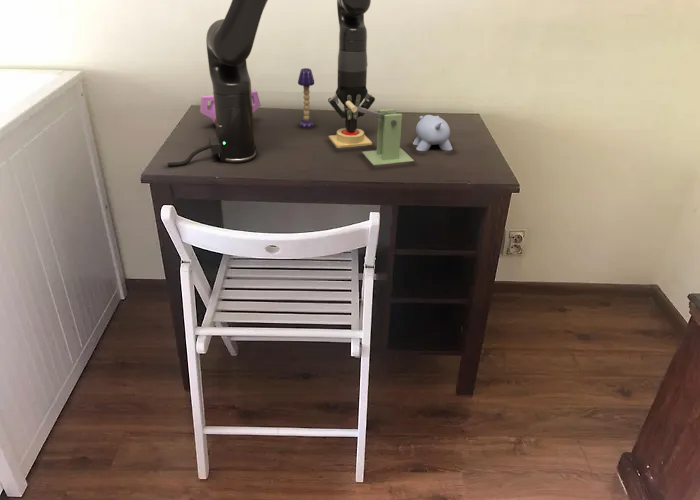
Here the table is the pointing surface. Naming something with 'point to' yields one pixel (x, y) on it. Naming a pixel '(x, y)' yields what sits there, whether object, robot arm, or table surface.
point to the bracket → (388, 141)
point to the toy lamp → (306, 95)
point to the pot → (211, 112)
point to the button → (349, 133)
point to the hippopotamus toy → (432, 133)
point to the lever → (365, 110)
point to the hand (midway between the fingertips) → (350, 131)
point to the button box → (349, 139)
